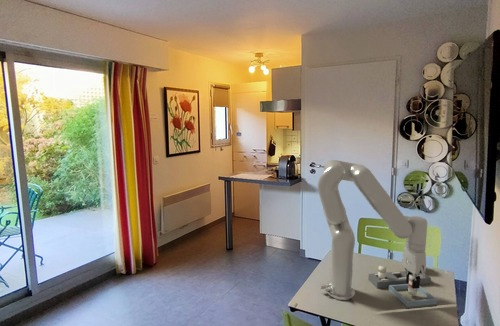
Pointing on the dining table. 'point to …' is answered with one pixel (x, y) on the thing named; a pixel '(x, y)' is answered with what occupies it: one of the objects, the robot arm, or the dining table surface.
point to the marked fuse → (410, 289)
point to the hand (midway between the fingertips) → (412, 285)
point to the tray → (428, 301)
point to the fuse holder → (393, 279)
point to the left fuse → (382, 272)
